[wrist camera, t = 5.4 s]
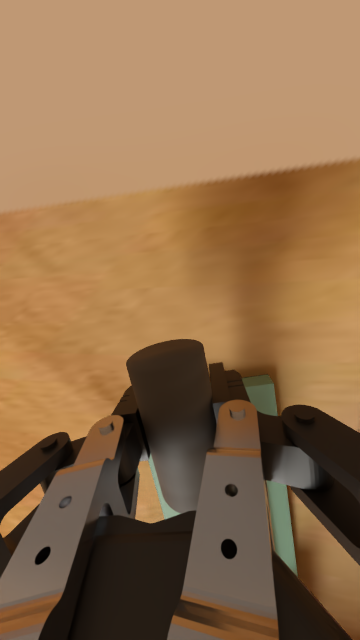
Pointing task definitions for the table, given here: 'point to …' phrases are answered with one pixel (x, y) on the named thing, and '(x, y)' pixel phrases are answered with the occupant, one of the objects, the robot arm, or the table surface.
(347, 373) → the table surface
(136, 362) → the rod
